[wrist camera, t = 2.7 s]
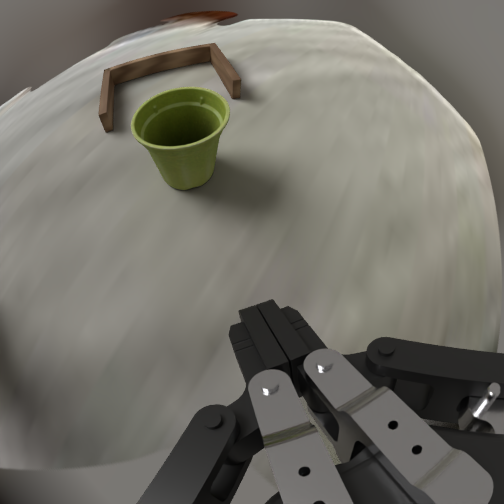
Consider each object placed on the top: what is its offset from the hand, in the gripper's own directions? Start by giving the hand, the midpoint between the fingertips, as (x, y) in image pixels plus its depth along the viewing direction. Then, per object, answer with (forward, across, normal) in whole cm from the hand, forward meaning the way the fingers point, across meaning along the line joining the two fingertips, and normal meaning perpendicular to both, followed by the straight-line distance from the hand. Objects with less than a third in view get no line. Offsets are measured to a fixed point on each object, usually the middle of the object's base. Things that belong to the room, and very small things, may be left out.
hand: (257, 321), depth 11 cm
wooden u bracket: (+37, 0, -18) cm, 41 cm away
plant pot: (+24, 0, -5) cm, 24 cm away
